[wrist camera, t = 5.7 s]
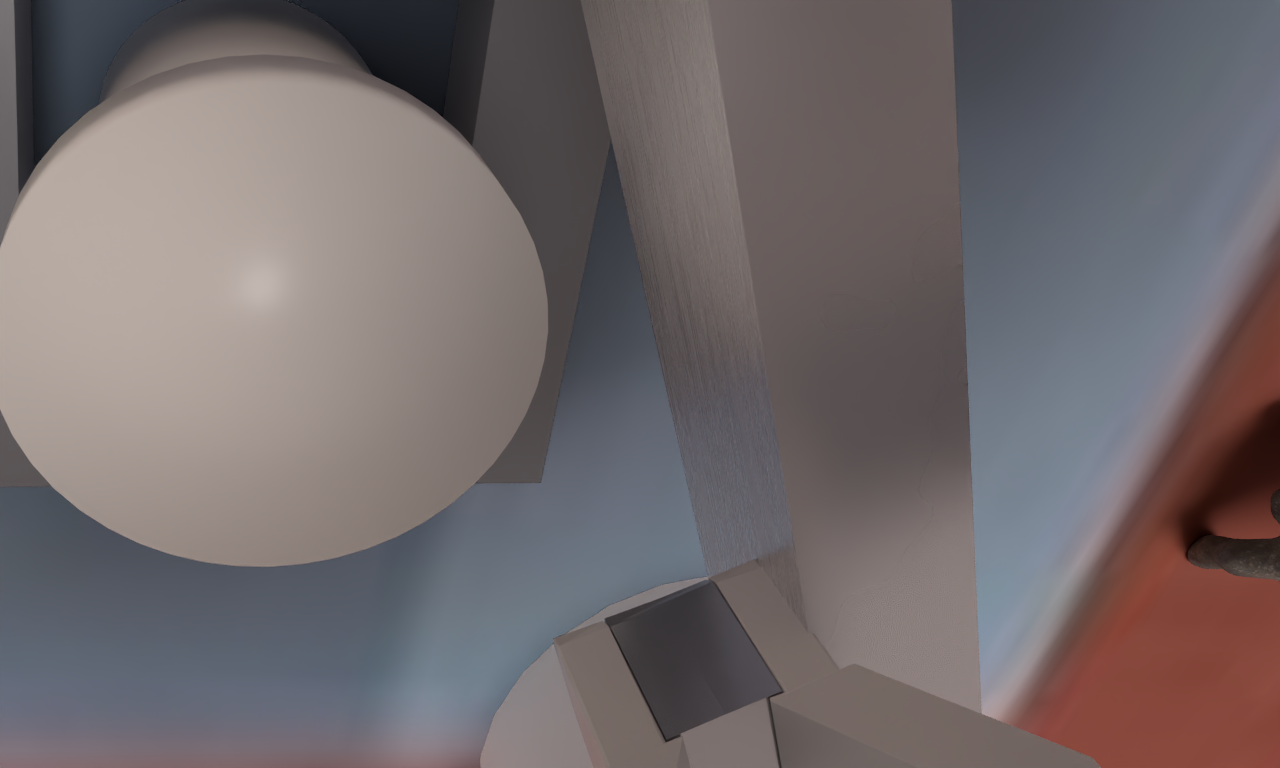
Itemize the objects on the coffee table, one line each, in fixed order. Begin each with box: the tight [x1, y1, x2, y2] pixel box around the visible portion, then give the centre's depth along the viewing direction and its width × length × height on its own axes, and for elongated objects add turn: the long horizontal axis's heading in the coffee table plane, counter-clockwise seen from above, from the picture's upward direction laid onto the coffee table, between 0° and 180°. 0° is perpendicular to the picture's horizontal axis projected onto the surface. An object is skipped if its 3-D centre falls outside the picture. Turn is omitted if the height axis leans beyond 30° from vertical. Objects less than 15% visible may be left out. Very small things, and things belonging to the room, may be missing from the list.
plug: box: [0, 0, 548, 567], centre depth 14 cm, size 5×5×7 cm
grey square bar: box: [581, 0, 982, 714], centre depth 9 cm, size 17×3×3 cm, turn 12°
